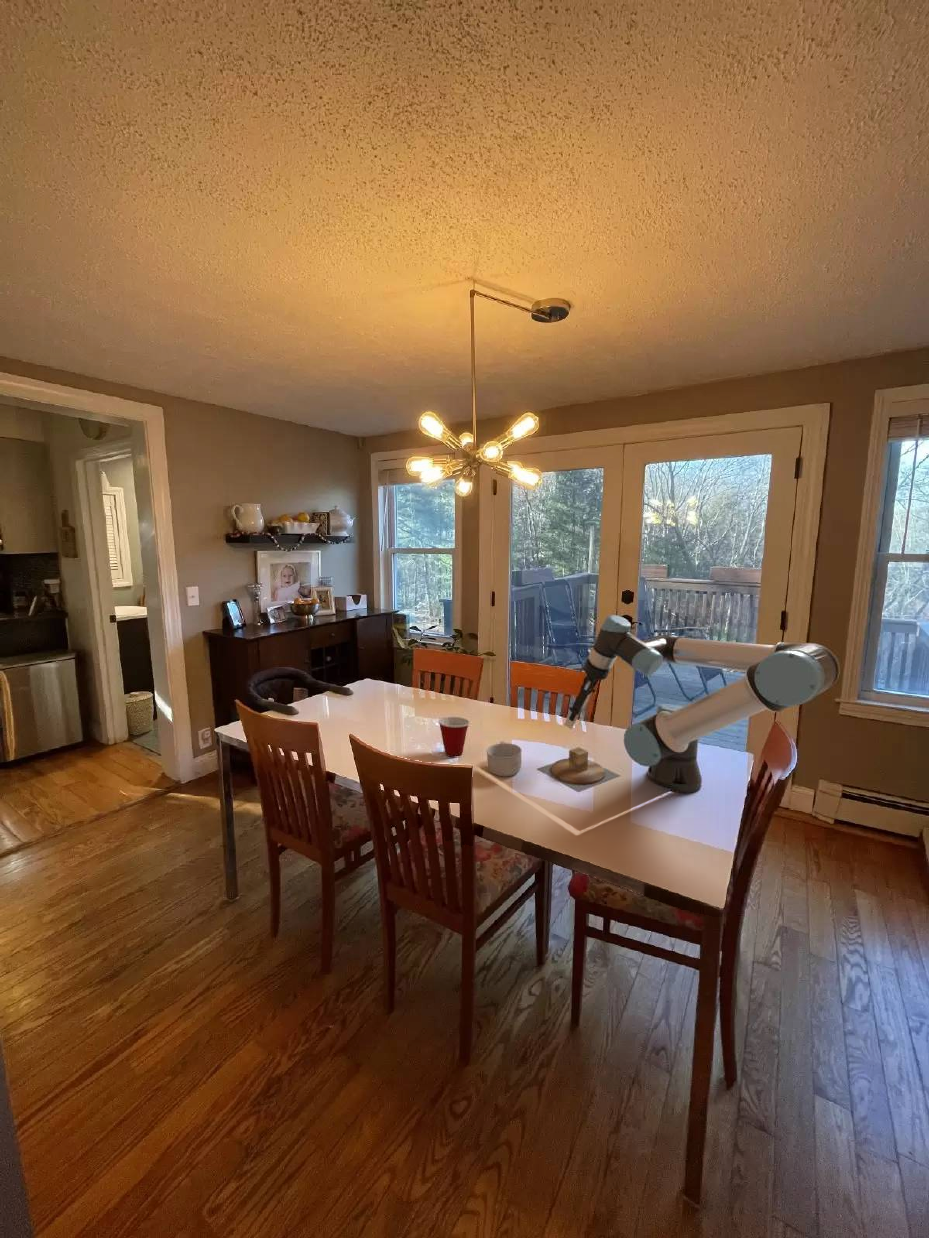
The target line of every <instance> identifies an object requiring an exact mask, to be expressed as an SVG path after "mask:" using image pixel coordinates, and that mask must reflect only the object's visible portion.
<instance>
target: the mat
mask: <svg viewBox="0 0 929 1238" xmlns="http://www.w3.org/2000/svg"><path fill="white" fill-rule="evenodd" d="M554 763H555V762H552V763H550V764H547V765H543V766H541V767H537V768H536V770H538V771H540V772H541V773H543V774H545V775H547V776H549V778H551V779H553V780H556V781H557V782H559V783H561V784H563V785H564V786H566V787H568V788H569V789H572V790H574V791H576V792H577V793H580V792H582V791H585V790H587V789H591V788H592V787H596V786H599V785H601V784H604V783H606V782H608V781H611V780H613V779H616V778H620V777H621V775H620V774H618V773H616V772H614V771H611V770H610V769H608V768H605V767H603V768H604V770H605V776H604V778H603V779H602V780H601V781H599V782H597V783H593V784H573V783H568V782H565V781H562V780H560V779H558V778H557V777H555V776H554V775H553V773H552V765H553V764H554Z"/></svg>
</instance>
